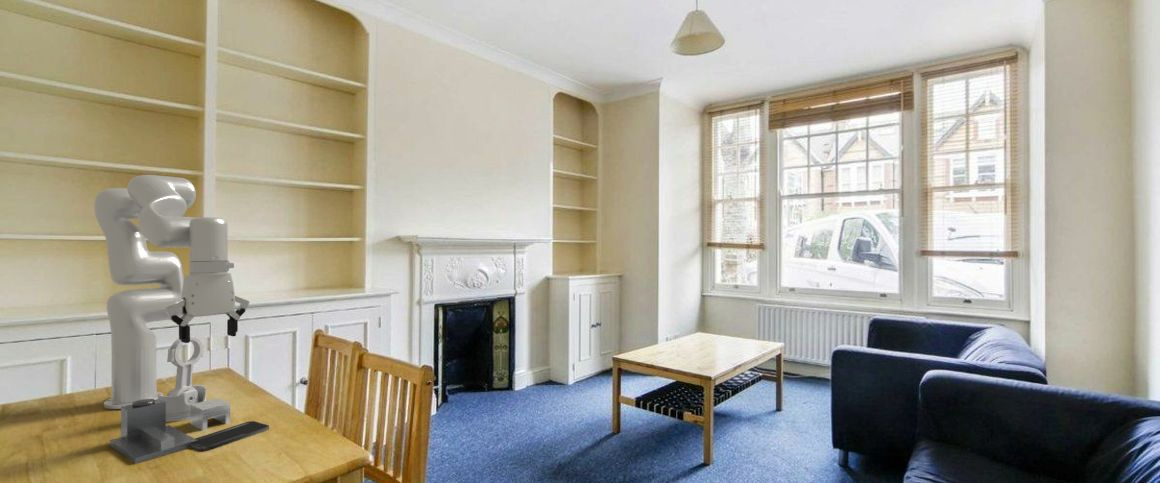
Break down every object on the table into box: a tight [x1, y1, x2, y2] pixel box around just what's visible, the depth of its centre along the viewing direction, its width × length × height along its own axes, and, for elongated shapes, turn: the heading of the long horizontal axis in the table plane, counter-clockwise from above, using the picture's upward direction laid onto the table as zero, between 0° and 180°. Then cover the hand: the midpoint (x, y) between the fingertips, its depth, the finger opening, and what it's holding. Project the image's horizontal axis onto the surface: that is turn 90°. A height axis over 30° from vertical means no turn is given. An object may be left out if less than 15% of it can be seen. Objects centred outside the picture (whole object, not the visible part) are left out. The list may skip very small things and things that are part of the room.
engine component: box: [158, 335, 207, 423], centre depth 134 cm, size 11×20×10 cm
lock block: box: [189, 397, 231, 431], centre depth 128 cm, size 6×7×5 cm
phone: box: [190, 420, 270, 452], centre depth 120 cm, size 8×1×15 cm
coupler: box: [108, 399, 198, 465], centre depth 115 cm, size 16×11×9 cm
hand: (209, 338), depth 124 cm, fingers open, 9 cm apart
